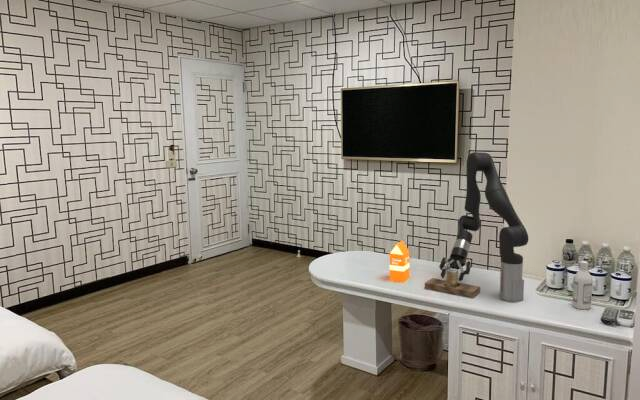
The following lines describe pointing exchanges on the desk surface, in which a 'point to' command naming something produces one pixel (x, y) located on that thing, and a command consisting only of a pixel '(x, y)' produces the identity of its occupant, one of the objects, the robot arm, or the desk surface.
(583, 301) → the bath foam
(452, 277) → the tan cylinder
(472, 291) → the brown wooden slotted board
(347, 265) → the desk surface
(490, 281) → the desk surface
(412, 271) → the desk surface
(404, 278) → the orange juice
